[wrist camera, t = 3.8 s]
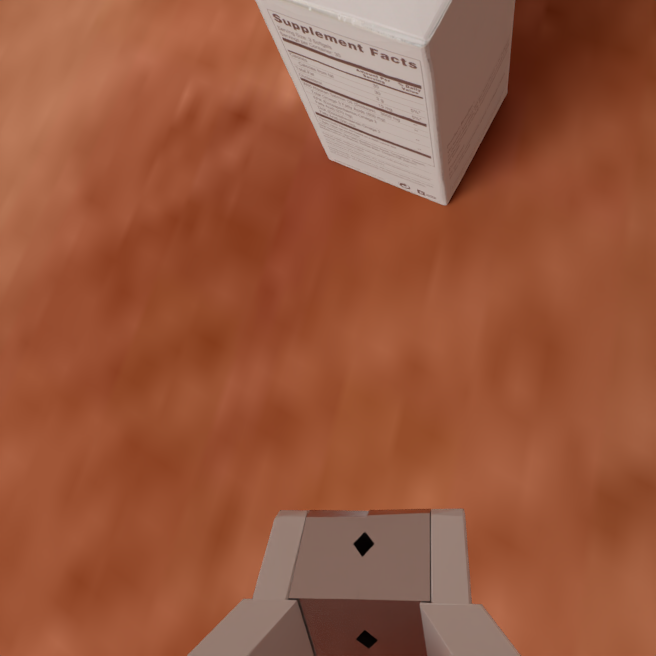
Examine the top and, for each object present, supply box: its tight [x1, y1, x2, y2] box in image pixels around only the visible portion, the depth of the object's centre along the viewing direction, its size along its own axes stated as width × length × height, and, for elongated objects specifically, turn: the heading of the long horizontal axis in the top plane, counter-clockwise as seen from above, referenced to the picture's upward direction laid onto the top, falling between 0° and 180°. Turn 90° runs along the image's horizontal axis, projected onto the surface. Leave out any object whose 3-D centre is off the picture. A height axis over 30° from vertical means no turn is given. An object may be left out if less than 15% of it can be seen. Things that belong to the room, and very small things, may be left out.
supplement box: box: [255, 0, 515, 205], centre depth 26 cm, size 7×7×13 cm
